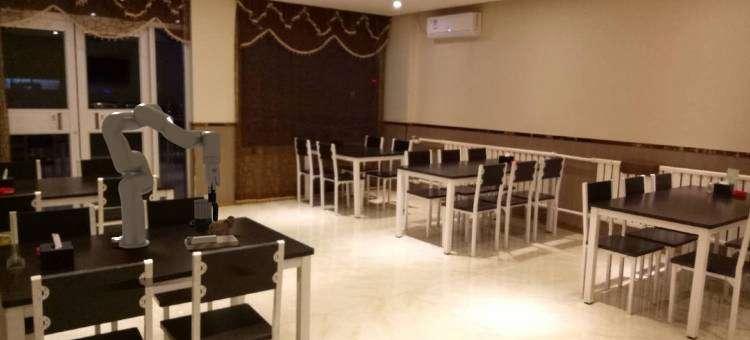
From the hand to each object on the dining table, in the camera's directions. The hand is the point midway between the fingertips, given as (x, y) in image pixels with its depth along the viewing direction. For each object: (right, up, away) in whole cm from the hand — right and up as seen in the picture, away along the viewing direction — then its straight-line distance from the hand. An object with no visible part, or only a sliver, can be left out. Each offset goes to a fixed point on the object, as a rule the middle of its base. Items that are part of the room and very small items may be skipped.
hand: (212, 201), depth 247 cm
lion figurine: (-4, -18, +31) cm, 36 cm away
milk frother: (-19, -16, +45) cm, 51 cm away
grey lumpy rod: (-7, -19, +7) cm, 21 cm away
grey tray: (-4, -20, +13) cm, 24 cm away
